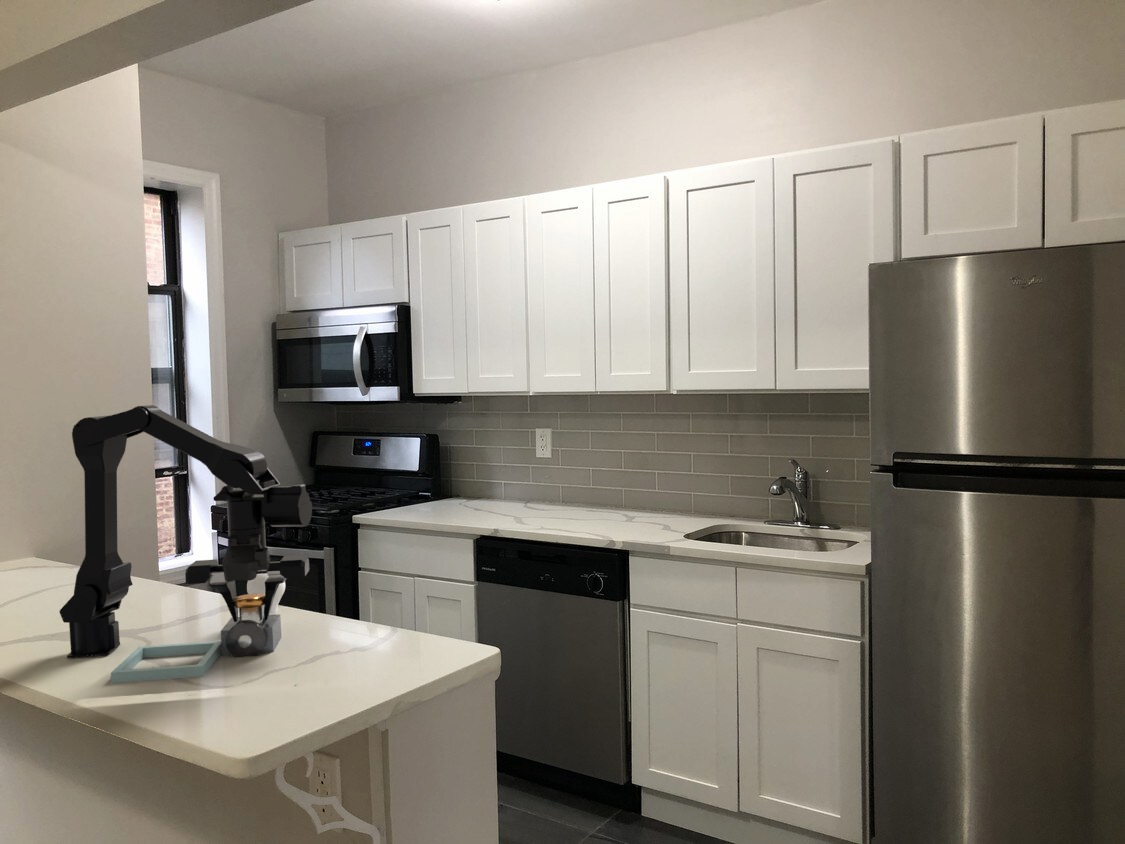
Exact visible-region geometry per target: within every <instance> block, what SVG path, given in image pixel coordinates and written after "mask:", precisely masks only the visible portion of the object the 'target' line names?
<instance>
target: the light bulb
mask: <svg viewBox="0 0 1125 844" xmlns="http://www.w3.org/2000/svg"><path fill="white" fill-rule="evenodd" d="M268 577H269V576H267V573H265V574H257V576H256V578H255V579H253V580H249V581H247V584H246V591H247V594H264V595H265V581H266V580H267V578H268ZM285 590H286V581H285V582H284V583H281V584H279V586H278V588H277V591H276V593H275V597H274V600H273V603H272V607H271V610H270V614H269V615H277V613H278V608H279V607H278V606H279V603H280V601H281V599H282V597H283V595H284V593H285ZM262 614H263V615H264V605H262Z"/></svg>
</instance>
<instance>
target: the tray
mask: <svg viewBox="0 0 1125 844" xmlns="http://www.w3.org/2000/svg"><path fill="white" fill-rule="evenodd" d="M199 654H205V655H203V657H202V659H200V661H199V662H198V663H197V664H188V665H187V664H186V665H172V666H158V667H146V668H135V667H136V666H137V665H138V664H139V663H140V662H141V661H142V660H143V659H144V658H155V657H156V658H157V657H169V656H171V657H172V656H183V655H186V656H187V655H199ZM221 655H222V645H221V640H217V641H202V642H201V641H199V642H187V643H186V642H185V643H175V644H171V643H170V644H158V645H157V644H156V645H144V646H143V645H142V646H138V647H137V648H136V649H134V650H133V652H131V653H130V654H129V655H128V656H127V657H126V658H125V659H124V660H123V661H122V662H121V663H119V664H118V665H117V667H115V668H114V669H113V670H112V671H111V672H110V679H111V680H110V681H111V684H117V683H129V682H130V683H131V682H133V683H134V682H144V681H146V682H147V681H157V680H158V681H159V680H168V679H169V680H171V679H185V678H199V677H204V676H205V675H206V673H208V671H209V669H210V668H211V667H212V665H213V664H214V663H215V661H216V660H217V659H218V658H219V656H221Z"/></svg>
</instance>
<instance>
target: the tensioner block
mask: <svg viewBox="0 0 1125 844" xmlns="http://www.w3.org/2000/svg"><path fill="white" fill-rule="evenodd" d="M281 618H282V617H281V614H279V613H278V614H275V615H269V617H268V619H267V620H265V618H264V615H263V625H260V624H259V623H257V622H255V621H253V620H242V621H240V616H238V621H237V622H234V620H233V618H232V617H230V618H229V620H228V621H227V622H226V623H225V625H224V626H223V627H222V629H221V630H220V639H221V640H220V641H221V645H222V652H221V656H223V657H224V656H233V657H234V658H246V657H247V658H248V657H257V656H259V654H261V653H262V654H265V653H273V652H275V651H276V649H277V646H278V645H279V642H280V641H281V640H282V621H281Z"/></svg>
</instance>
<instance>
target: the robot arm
mask: <svg viewBox="0 0 1125 844" xmlns="http://www.w3.org/2000/svg"><path fill="white" fill-rule="evenodd" d="M142 433H145V434H147V435H149V436H150V437H152V438H155V439H156V440H158V441H161V442H163V443H165V444H166V445H168V446H170V447H172V448H173V449H175V450H178V451H180V452H182V453H184V454H186V455H187V456H189V457H191V458H193V459H194V460H196V461H198V462H200V463H202V464H203V465H205V466H206V468H207V469H208V470H209V472H210V473H211V474H212V475H213V476H214V477H215V478H217V479H218V480H220V481H221V482H222V483H224V484H225V485H224V486H222V488H221V489H220V491H219V492H218V493H217V494H216V495H214V496H213V498H212V499H213V501H215V502H226V509H227V527H228V528H227V529H228V533H227V534H228V536H227V548H226V551H225V553H224V557H223V559H222V564H219V561H218V559H203V560H195V561H194V562H193V563H191V564H190V565H188V567H187V568H186V569H185V574H184V575H185V576H184V577H185V584H186V585H195V584H196V585H197V584H206V583H207V582H208V580H210V581H209V583H208V586H209V589H210V588H215V590H217V591H218V592H219V593H220V595H221V596H222V598H223V600H224V602H225V604H226V606H227V609H228V610H229V613H230V616H231V618H233V620H234V622H237V621H238V617H239V608H237V607H235V598H236V597H238V596H237V588H236V587H237V586H236V581H247V582H248V581H249V580H253V579H255V578H256V576H257V574H265V573H267V576H269V577H268V578H267V580H266V581H265V604H264V618H265V620H267V619H268V617H269V614H270V610H271V607H272V603H273V600H274V597H275V593H276V591H277V588H278V586H279V584H281V583H284V582H285V583H286V580H287V579H294V578H295V579H296V578H297V579H300V578H305V577H306V576H307V575H308V573H309V572H310V560H309V557H308V556H307V555H306V554H292V555H284V556H283V557H282V558H281V560H280V561H271V556H270V555H271V554H270V550H269V548H268V547H267V542H266V523H268V524H269V526H270V527H273V528H275V527H277V528H278V527H307V526H308V525H309V524H310V523H311V520H312V515H313V502H312V501H311V498H310V495H309V493H308V491H307V489H306V485H305V484H301V483H300V484H294V485H282V484H281V482H280V481H279V480H278V478H276V476H275V475H274V474H273V472H272V471H271V470H270V469H269V467H268V464H267V460H266V456H265V455H264V454H262V453H261V452H260V451H258V450H255V449H254V448H253V449H252V448H251V447H245V446H244V445H239V444H235V443H229V442H227V441H226V442H225V441H222V440H219V439H217V438H215V437H213V436H212V435H209V434H208V433H205V432H204V431H201V430H199V429H198V428H196V427H194V426H193V425H190V424H189V423H186V422H184V421H183V420H180V419H179V418H177V417H175V416H173V415H171V414H169V413H167V412H165V411H163V410H162V409H161V408H160V407H159V406H157V405H154V404H153V405H152V404H151V405H149V404H147V405H137V406H135V407H132V408H130V409H128V410H125V411H122V412H119V413H115V414H110V415H102V416H101V415H100V416H90V417H84V418H82V419H79V421H77V423H75V424H73V427H72V431H71V439H72V444H73V449H74V454H75V457H76V458H77V461H78V462H79V463H80V465H81V467H82V469H83V473H84V474H83V475H84V479H83V481H84V483H83V485H84V486H83V487H84V557H83V560H82V562H81V565H80V567H79V568H78V571H77V573H76V577H75V583H74V587H73V588H74V589H73V595H72V596H71V597H70V599H69V600H68V601H67V602H66V603H65V604H64V605H63V606H62V607H61V608H60V609H59V615H60V617H61V619H62V621H63V623H69V624H68V625H69V626H68V628H69V642H70V644H69V645H70V652H69V653H68V654H67V655H66V659H74V658H89V657H102V656H104V657H105V656H109V655H110V654H111V653H113V652H114V651H115V650H116V649H117V648H118V647H119V646H121V642H120V627H119V625H120V624H119V620H116V614H115V611H117V610H119V609H120V607H121V604H122V601H123V600H124V598H125V597H126V596H127V594H128V592H129V588H130V587H131V586H133V582H132V576H131V574H132V562H131V561H129V562H128V561H127V562H123V560H122V559H121V557H120V555H119V551H118V475H117V474H118V473H117V472H118V467H119V466H120V464H121V461H122V459H123V457H124V454H125V452H126V447H127V441H128V440H127V439H130V438H131V437H135V436H138V435H141V434H142Z"/></svg>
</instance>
